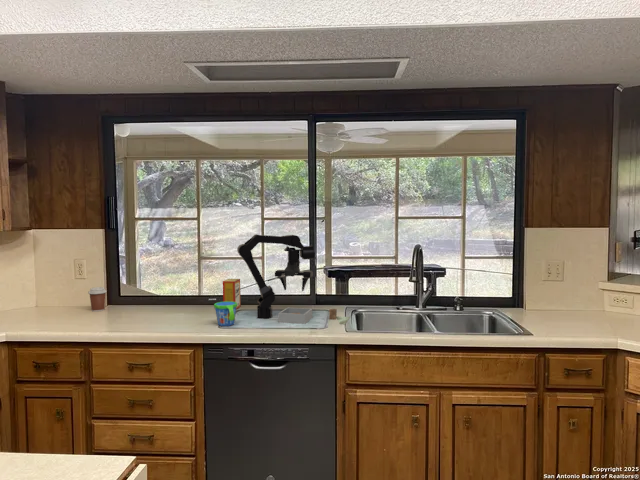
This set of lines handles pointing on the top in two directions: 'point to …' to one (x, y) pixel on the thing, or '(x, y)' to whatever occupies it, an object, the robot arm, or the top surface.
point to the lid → (334, 315)
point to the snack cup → (225, 312)
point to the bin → (295, 315)
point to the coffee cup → (97, 298)
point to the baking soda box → (232, 291)
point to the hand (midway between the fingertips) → (294, 290)
